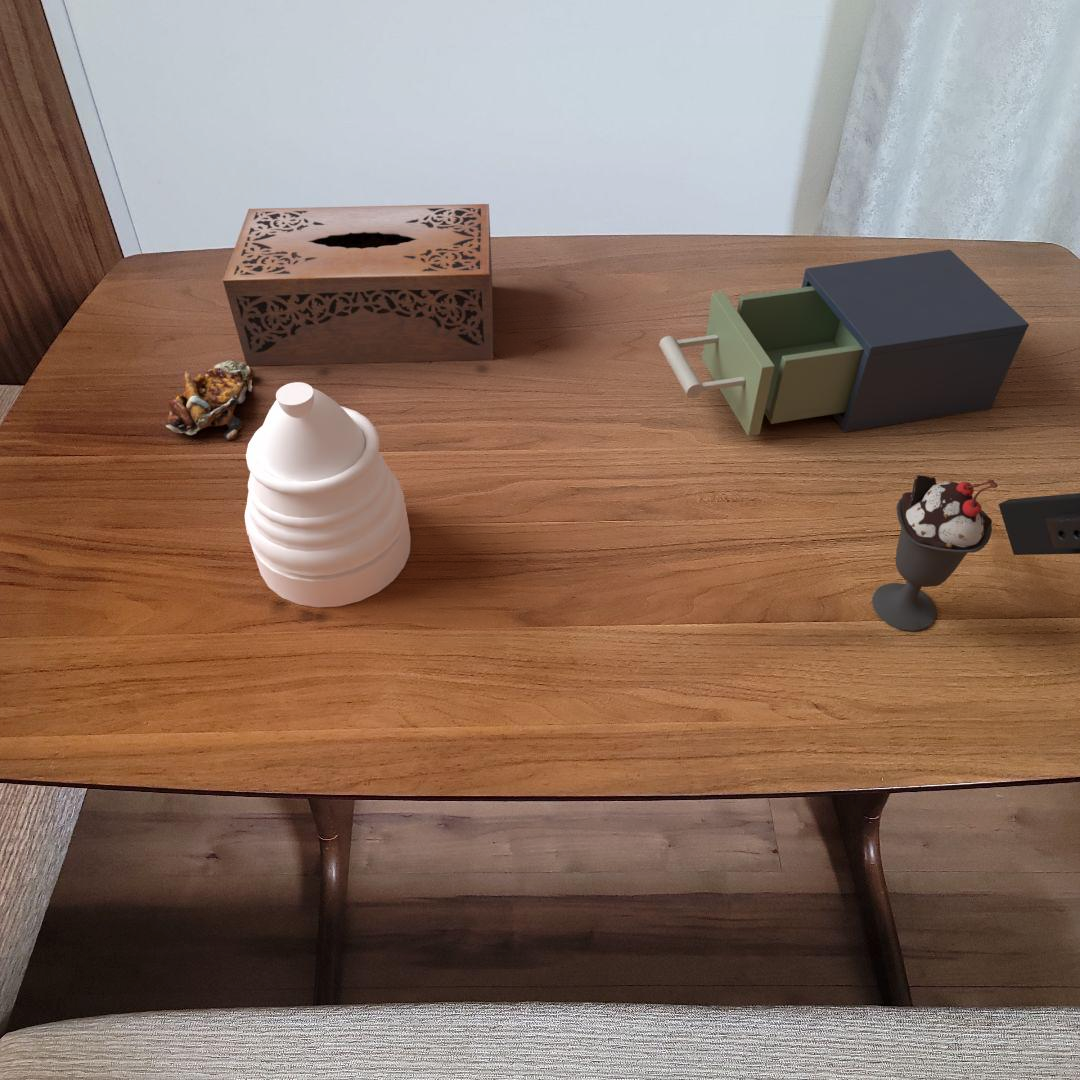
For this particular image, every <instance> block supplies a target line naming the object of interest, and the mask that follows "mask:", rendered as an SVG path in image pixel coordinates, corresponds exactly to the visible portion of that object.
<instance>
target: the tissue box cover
mask: <svg viewBox="0 0 1080 1080" xmlns="http://www.w3.org/2000/svg"><path fill="white" fill-rule="evenodd" d="M222 283H223V286H224V290H225V293H226V297H227V300H228V305H229V308H230V311H231V315H232V318H233V322H234V326H235V329H236V334H237V336H238V340H239V344H240V347H241V351H242V354H243V357H244V361H245V365H246V366H249V367H252V366H253V367H254V366H286V365H287V366H288V365H290V366H291V365H292V366H293V365H327V364H328V365H330V364H331V365H332V364H333V365H334V364H369V363H402V362H403V363H408V362H411V363H412V362H413V363H415V362H449V361H453V362H454V361H489V360H492V361H493V360H494V315H493V314H494V313H493V312H494V311H493V310H494V309H493V307H494V306H493V305H494V304H493V303H494V302H493V299H494V298H493V265H492V246H491V221H490V203H469V204H468V203H467V204H465V203H464V204H463V203H462V204H461V203H460V204H420V205H419V204H417V205H416V204H415V205H414V204H413V205H372V206H371V205H369V206H367V205H366V206H365V205H363V206H319V207H317V206H316V207H281V208H280V207H275V208H273V207H272V208H271V207H269V208H265V207H264V208H248V210H247V213H246V215H245V218H244V221H243V224H242V226H241V229H240V232H239V235H238V237H237V241H236V243H235V245H234V248H233V251H232V254H231V256H230V260H229V262H228V265H227V268H226V270H225V273H224V276H223V278H222Z"/></svg>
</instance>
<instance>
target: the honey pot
mask: <svg viewBox="0 0 1080 1080" xmlns="http://www.w3.org/2000/svg"><path fill="white" fill-rule="evenodd" d="M245 458H246V464H247V469H248V470H249V476H248V480H247V481H248V482H247V489H248V493H247V498H246V504H245V505H246V506H245V510H244V524H245V529H246V534H247V537H248V540H249V543H250V545H251V549H252V552H253V555H254V559H255V562H256V565H257V568H258V570H259V574H260V576H261V577H262V579H263V581H264V582H265V584H266V585H267V587H268V588H269V589H270V590H271V591H273V593H275V594H276V595H278V596H279V597H280V598H282V599H284V600H286V601H289V602H291V603H294V604H296V605H300V606H305V607H312V608H334V607H336V608H337V607H342V606H346V605H350V604H354V603H358V602H362V601H363V600H365V599H367V598H369V597H371V596H374V595H376V594H379V592H381V591H382V590H383V589H385V588H386V587H387V586H389V585H390V584H391V583H392V582H394V581H395V580H396V578H398V576H399V574H400V573H401V572H402V570H403V569H404V568H405V566H406V564H407V561H408V559H409V557H410V555H411V541H412V540H411V531H410V524H409V519H408V512H407V506H406V503H405V495H404V492H403V489H402V487H401V483H400V481H399V480H398V478H397V477H396V476H395V474H394V473H393V472H392V471H391V469H390V467H389V465H388V464H387V463H386V462H385V461H386V460H385V459H384V456H383V454H382V453H381V451H380V436H379V433H378V430H377V428H376V427H375V425H374V424H373V423H372V422H371V420H369V418H368V417H366V416H365V415H363V414H361V413H360V412H359V411H357V410H355V409H351V408H348V407H345V406H343V405H342V406H341V405H340V404H338V402H336V401H335V400H334V399H332V398H331V397H330V396H328V395H327V394H326V393H324V392H322V391H320V390H318V389H316V388H314V387H312V386H311V385H310V384H308V383H305V382H301V381H296V382H295V381H294V382H290V383H286V384H284V385H283V386H281V387H279V389H277V391H276V392H275V401H274V403H273V404H272V406H271V407H270V409H269V411H268V412H267V415H266V416H265V419H264V422H263V424H262V425H261V426H260V427H259V428H258V429H257V430H255V432H254V434H253V435H252V437H251V438H250V441H249V442H248V444H247V449H246V453H245Z"/></svg>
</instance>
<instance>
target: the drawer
mask: <svg viewBox="0 0 1080 1080" xmlns="http://www.w3.org/2000/svg"><path fill="white" fill-rule="evenodd" d="M707 317H708V318H707V323H706V330H705V335H704V336H697V337H696V336H695V337H689V338H682V339H676V338H675V337H674V336H673V335H665V336H664V337H662V338H661V339H660V340H659V348H660V350H661V351H662V353H663V355H664V357H665V358H666V360H667V362H668V364H669V366H670V368H671V370H672V371H673V373H674V375H675V377H676V378H677V380H678V382H679V384H680V385H681V387H682V389H683V391H684V393H685V395H686V396H687V398H689V399H697V398H699V397H700V396H701V395H702V394H703V392H708V391H714V390H720V392H721V394H722V395H723V397H724V398H725V399H724V400H725V401H726V402H727V403H728V405H729V407H730V408H731V411H732V412H733V414H734V415H735V417H736V419H737V421H738V422H739V424H740V426H741V428H742V429H743V430H744V432H745V434H746V435H747V437H753V436H759V435H760V433H761V429H762V425H763V421H764V416H765V417H766V418H767V420H768V421H769V423H770V425H773V424H779V423H786V422H791V421H798V420H804V419H805V420H806V419H810V418H817V417H823V416H829V415H832V414H836V413H843V412H846V409H847V405H848V402H849V399H850V395H851V392H852V389H853V385H854V382H855V379H856V375H857V372H858V369H859V366H860V362H861V359H862V356H863V352H864V349H863V348H862V347H861V345H860V344H859V343H858V342H857V340H856V339H855V338H854V337H853V336H852V334H851V333H850V332H849V331H848V329H847V328H846V327H845V326H844V325H843V323H842V322H841V321H840V320H839V318H838V317H837V316H836V315H835V313H834V312H833V311H832V310H831V309H830V307H829V306H828V305H827V304H826V302H825V301H824V300H823V299H822V298H821V296H820V295H819V294H818V293H817V291H816V290H815V289H814V288H813V286H809V287H802V286H801V287H795V288H789V289H788V288H787V289H781V290H773V291H766V292H765V291H764V292H758V293H757V292H756V293H751V294H743V295H740V296H739V298H738V303H737V308H736V307H735V306H734V305H733V303H732V301H731V300H730V299H729V297H728V296H727V294H726V293H725V291H722V290H721V291H714V292H711V297H710V304H709V311H708V316H707ZM696 346H703V350H702V358H701V360H702V362H703V364H704V366H705V367H706V369H707V370H708V372H709V374H710V375H711V378H712V379H713V380H712V381H704V382H701V381H700V379H699V378H698V376H697V374H696V373H695V371H694V369H693V368H692V366H691V364H690V363H689V361H688V359H687V357H686V356H685V354H684V353H683V350H682V348H689V347H696Z"/></svg>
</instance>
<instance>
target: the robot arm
mask: <svg viewBox="0 0 1080 1080" xmlns="http://www.w3.org/2000/svg"><path fill="white" fill-rule="evenodd" d="M998 507H999V511H1000V514H1001V518H1002V521H1003V525H1004V528H1005V532H1006V534H1007V538H1008V541H1009V544H1010V547H1011V551H1012V555H1013V556H1030V555H1031V556H1033V555H1034V556H1036V555H1037V556H1038V555H1080V492H1076V493H1075V492H1074V493H1066V494H1053V495H1042V496H1031V497H1029V496H1028V497H1020V498H1018V497H1017V498H1009V499H1007V500H1004V501H1002V502H999V503H998Z"/></svg>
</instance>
